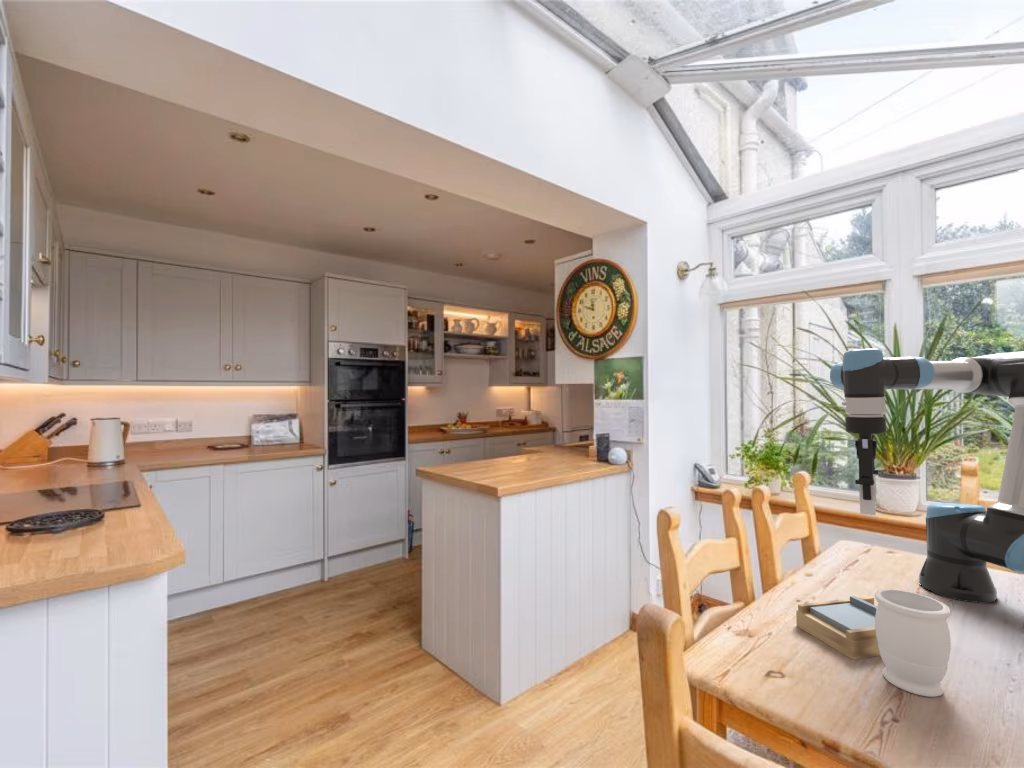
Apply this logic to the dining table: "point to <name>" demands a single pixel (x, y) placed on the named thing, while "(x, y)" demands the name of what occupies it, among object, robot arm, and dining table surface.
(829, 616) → the cover plate
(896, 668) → the jar
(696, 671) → the dining table surface
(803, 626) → the slide box
